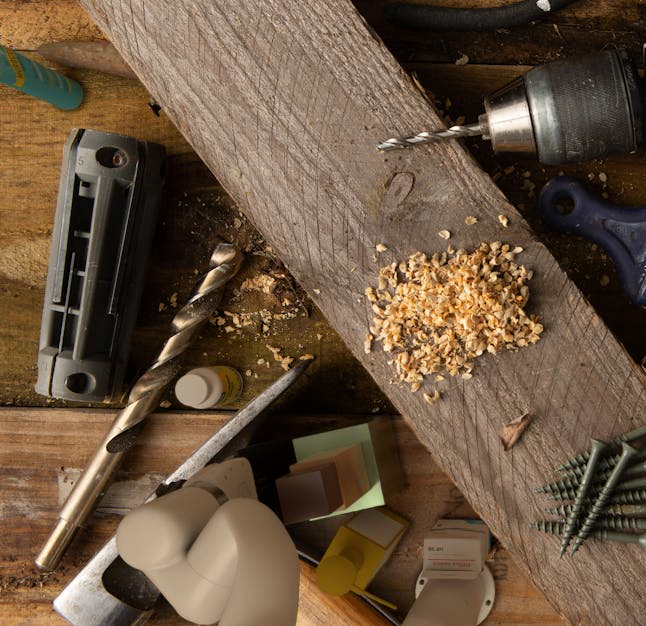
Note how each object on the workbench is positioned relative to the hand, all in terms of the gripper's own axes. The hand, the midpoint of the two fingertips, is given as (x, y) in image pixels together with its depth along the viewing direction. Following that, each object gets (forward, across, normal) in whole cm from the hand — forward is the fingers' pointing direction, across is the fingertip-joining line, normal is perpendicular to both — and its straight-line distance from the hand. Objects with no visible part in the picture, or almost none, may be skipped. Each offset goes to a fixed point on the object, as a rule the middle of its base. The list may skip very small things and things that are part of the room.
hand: (257, 484), depth 117 cm
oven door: (+10, 0, -5) cm, 12 cm away
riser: (-4, 0, -14) cm, 15 cm away
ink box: (+10, -16, -26) cm, 32 cm away
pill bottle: (+10, +16, +6) cm, 19 cm away
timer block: (-16, 0, -14) cm, 21 cm away
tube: (+10, +66, +21) cm, 70 cm away
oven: (+9, 0, -13) cm, 16 cm away
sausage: (+4, +68, +16) cm, 70 cm away
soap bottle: (+10, -14, -15) cm, 23 cm away
